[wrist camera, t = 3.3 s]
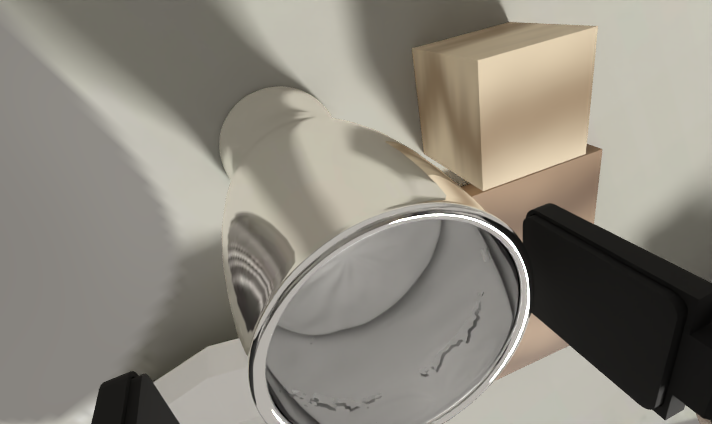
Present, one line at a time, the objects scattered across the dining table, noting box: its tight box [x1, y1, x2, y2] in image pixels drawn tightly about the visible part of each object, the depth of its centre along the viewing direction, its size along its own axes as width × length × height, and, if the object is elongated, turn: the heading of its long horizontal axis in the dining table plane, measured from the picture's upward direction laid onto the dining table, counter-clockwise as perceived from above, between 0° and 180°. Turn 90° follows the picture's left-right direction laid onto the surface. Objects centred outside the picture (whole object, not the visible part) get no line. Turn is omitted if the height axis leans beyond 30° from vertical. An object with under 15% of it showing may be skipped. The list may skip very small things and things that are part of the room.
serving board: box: [461, 144, 602, 381], centre depth 31 cm, size 18×14×2 cm
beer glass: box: [219, 86, 534, 424], centre depth 15 cm, size 7×7×15 cm
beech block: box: [412, 22, 598, 191], centre depth 21 cm, size 6×6×6 cm
